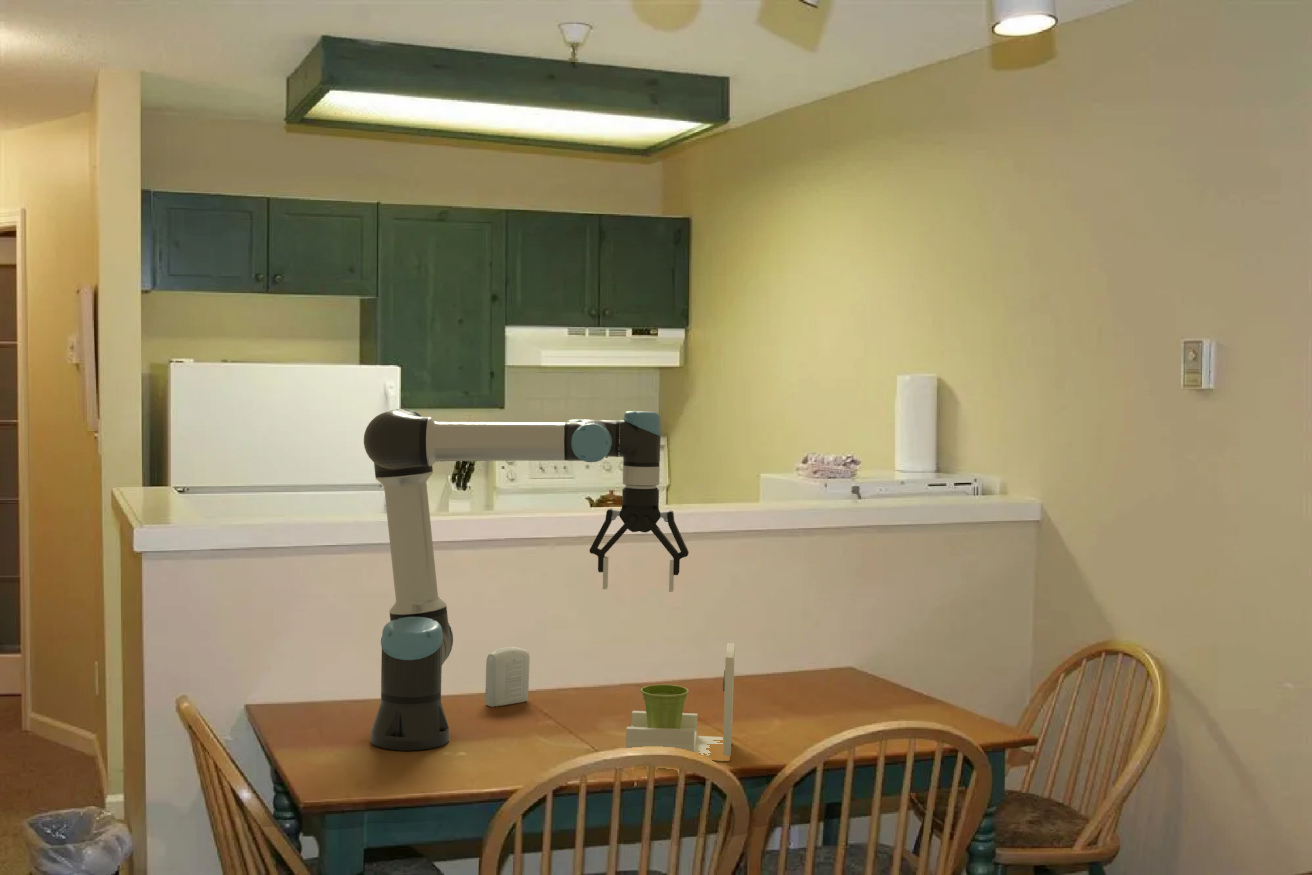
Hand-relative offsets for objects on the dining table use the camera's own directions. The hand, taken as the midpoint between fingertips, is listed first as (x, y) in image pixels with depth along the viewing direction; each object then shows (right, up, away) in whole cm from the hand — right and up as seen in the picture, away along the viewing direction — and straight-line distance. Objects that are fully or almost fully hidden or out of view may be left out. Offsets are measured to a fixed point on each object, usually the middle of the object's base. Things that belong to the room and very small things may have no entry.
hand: (638, 589), depth 289 cm
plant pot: (+5, -27, -14) cm, 31 cm away
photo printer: (-29, -27, +20) cm, 44 cm away
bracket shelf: (+8, -30, -14) cm, 34 cm away
